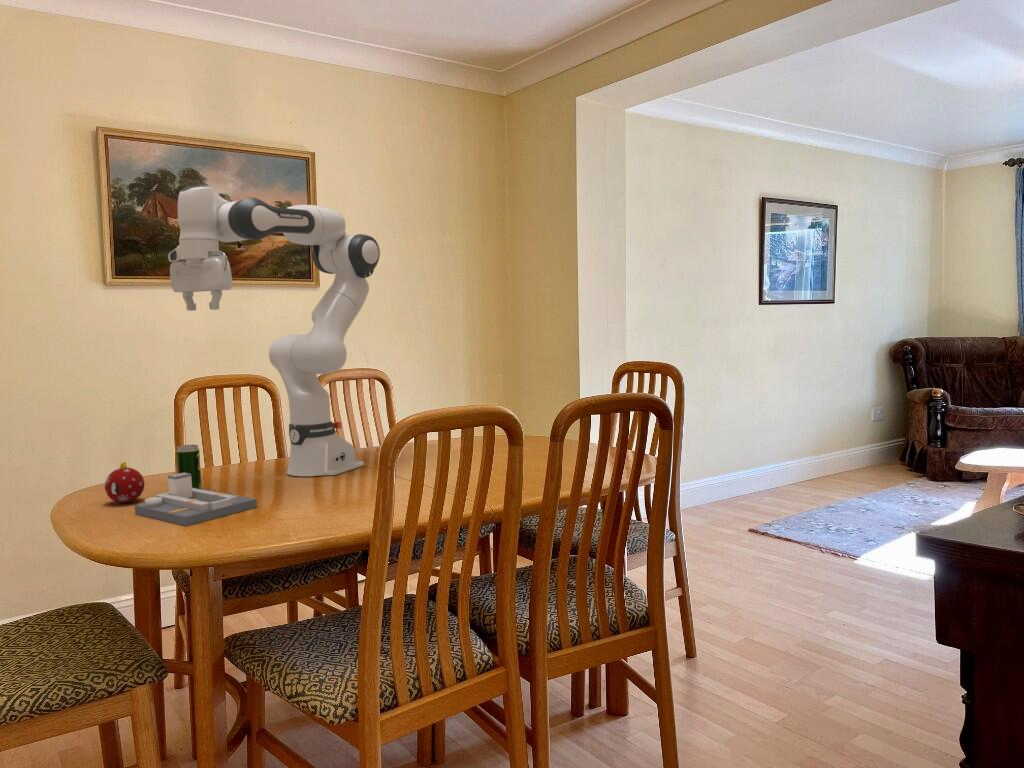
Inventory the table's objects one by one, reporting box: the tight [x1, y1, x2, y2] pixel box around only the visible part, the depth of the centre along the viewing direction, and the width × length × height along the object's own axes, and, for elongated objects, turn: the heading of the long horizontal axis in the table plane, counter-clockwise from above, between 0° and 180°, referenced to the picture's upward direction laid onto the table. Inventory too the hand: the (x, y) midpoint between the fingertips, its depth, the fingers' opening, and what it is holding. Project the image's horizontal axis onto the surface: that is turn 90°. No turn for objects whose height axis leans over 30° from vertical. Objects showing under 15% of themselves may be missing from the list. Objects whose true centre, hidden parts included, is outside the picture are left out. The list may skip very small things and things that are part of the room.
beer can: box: [176, 444, 203, 490], centre depth 193 cm, size 5×5×12 cm
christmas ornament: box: [104, 461, 145, 504], centre depth 185 cm, size 9×9×10 cm
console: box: [134, 488, 258, 527], centre depth 175 cm, size 18×20×4 cm
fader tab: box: [167, 473, 193, 498], centre depth 178 cm, size 4×3×6 cm
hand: (202, 310), depth 186 cm, fingers open, 8 cm apart
